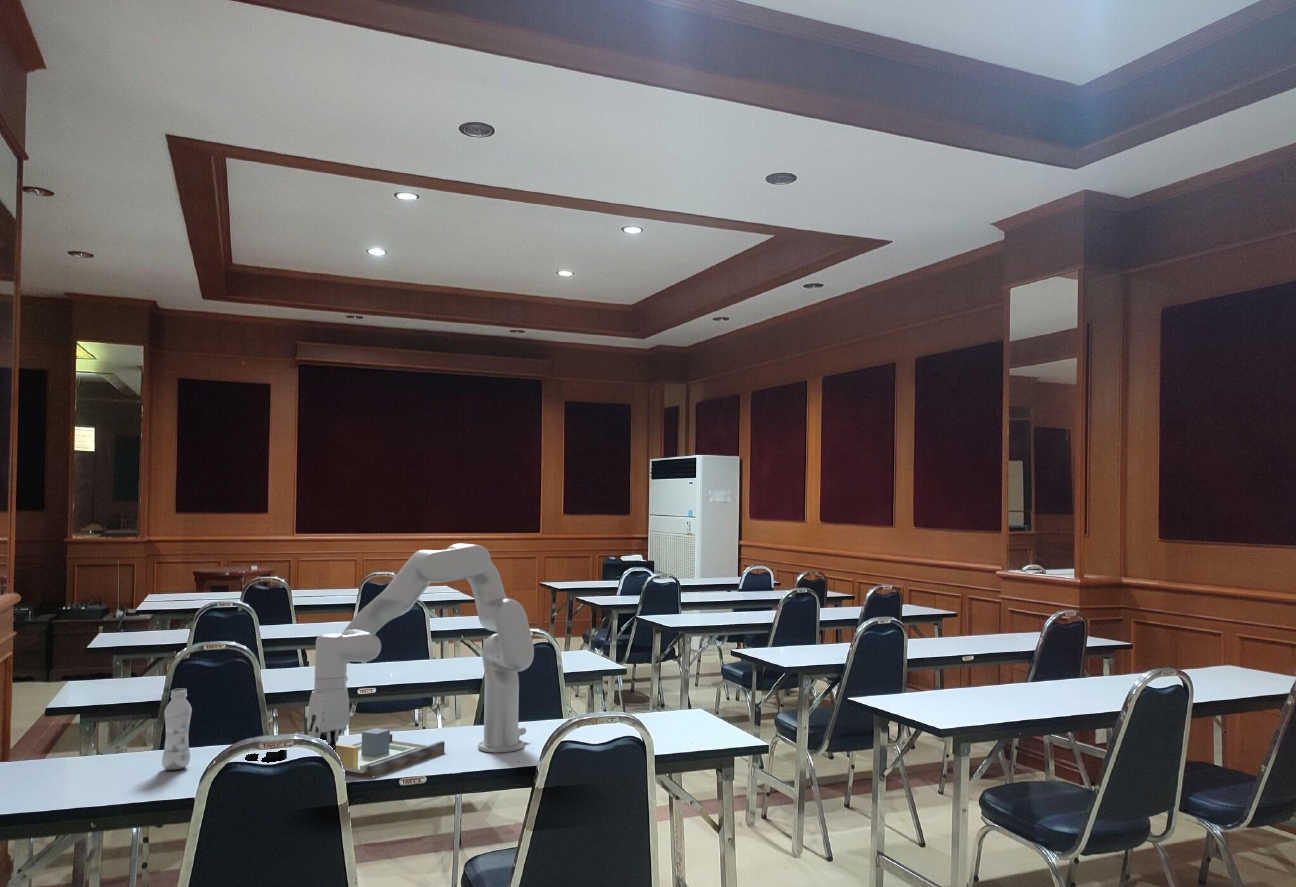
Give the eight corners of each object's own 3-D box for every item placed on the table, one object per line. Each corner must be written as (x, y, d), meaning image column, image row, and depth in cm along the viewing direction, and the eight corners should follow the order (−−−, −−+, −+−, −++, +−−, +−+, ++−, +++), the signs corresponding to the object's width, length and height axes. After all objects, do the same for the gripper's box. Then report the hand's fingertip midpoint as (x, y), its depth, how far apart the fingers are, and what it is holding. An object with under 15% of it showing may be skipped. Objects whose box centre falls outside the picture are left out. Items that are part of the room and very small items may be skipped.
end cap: (285, 764, 238) (286, 738, 238) (287, 771, 231) (288, 744, 232) (243, 769, 234) (244, 742, 234) (244, 776, 227) (245, 748, 228)
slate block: (375, 750, 244) (375, 727, 245) (389, 752, 242) (389, 729, 243) (361, 754, 240) (362, 731, 240) (375, 757, 238) (376, 733, 238)
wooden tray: (371, 747, 251) (372, 726, 251) (416, 754, 244) (417, 732, 244) (315, 765, 233) (315, 742, 233) (362, 773, 226) (362, 749, 226)
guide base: (388, 743, 260) (389, 733, 260) (444, 751, 251) (444, 741, 251) (312, 767, 235) (312, 756, 235) (371, 777, 226) (371, 766, 226)
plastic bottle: (158, 773, 229) (161, 692, 231) (164, 766, 236) (168, 687, 237) (186, 771, 231) (189, 691, 232) (192, 764, 237) (195, 686, 239)
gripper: (341, 677, 236) (339, 750, 235) (296, 687, 223) (293, 764, 222) (363, 680, 233) (361, 753, 232) (318, 690, 220) (316, 768, 218)
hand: (328, 758), depth 227 cm, fingers closed
